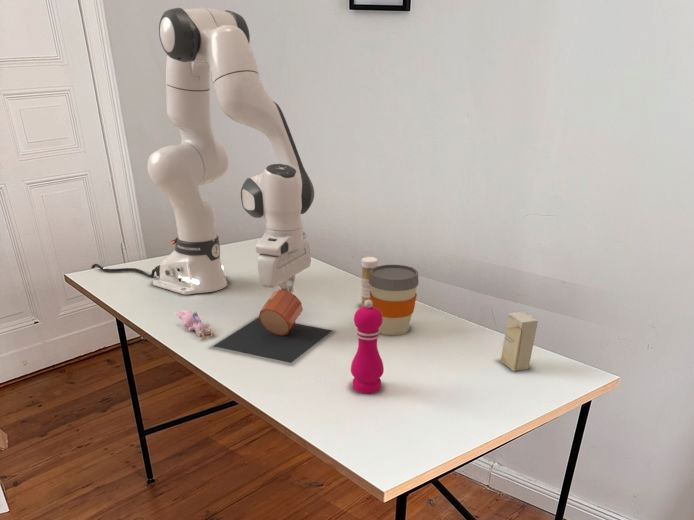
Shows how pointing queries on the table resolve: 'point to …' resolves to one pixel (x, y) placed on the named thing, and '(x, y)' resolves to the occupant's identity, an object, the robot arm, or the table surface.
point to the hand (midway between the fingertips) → (287, 294)
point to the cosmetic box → (519, 340)
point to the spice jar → (367, 277)
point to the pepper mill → (367, 350)
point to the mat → (273, 341)
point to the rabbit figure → (194, 323)
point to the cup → (280, 312)
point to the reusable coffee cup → (394, 296)
